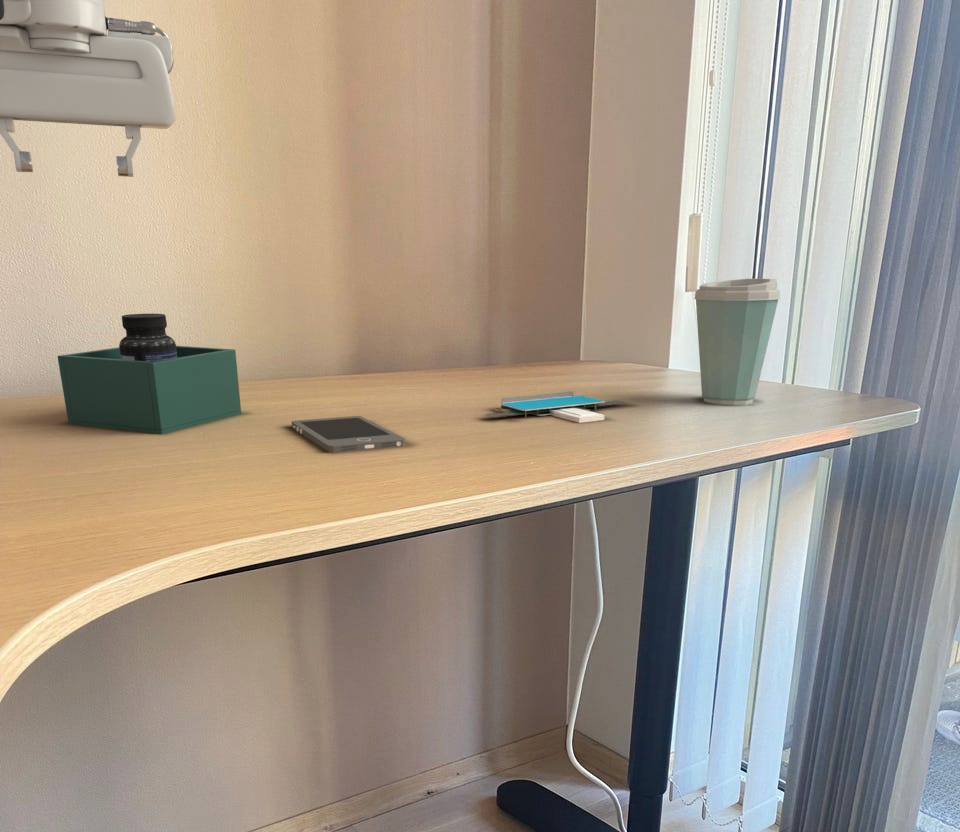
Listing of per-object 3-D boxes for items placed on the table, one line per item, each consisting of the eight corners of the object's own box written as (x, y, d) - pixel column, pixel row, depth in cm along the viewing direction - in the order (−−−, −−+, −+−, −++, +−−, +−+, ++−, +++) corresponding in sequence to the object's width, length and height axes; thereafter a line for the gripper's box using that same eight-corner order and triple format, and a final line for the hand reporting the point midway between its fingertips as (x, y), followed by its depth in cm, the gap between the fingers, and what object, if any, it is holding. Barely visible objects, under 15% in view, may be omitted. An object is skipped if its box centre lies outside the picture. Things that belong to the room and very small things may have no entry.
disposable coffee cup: (724, 412, 117) (737, 281, 111) (667, 399, 126) (676, 278, 120) (786, 405, 122) (802, 279, 116) (727, 393, 131) (739, 276, 125)
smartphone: (289, 427, 107) (288, 420, 106) (359, 421, 110) (359, 415, 110) (329, 453, 94) (328, 446, 94) (406, 446, 97) (406, 439, 97)
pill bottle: (189, 410, 114) (178, 312, 109) (177, 419, 108) (165, 317, 104) (137, 410, 113) (123, 312, 109) (122, 420, 108) (107, 317, 103)
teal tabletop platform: (519, 431, 106) (520, 416, 105) (464, 414, 115) (464, 400, 114) (657, 414, 115) (658, 400, 115) (596, 400, 125) (597, 387, 124)
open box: (68, 425, 108) (57, 355, 105) (153, 406, 119) (145, 343, 116) (162, 435, 103) (152, 362, 100) (241, 415, 114) (235, 349, 111)
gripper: (168, 29, 97) (181, 180, 102) (-58, 8, 90) (-32, 171, 96) (172, 17, 92) (186, 177, 97) (-68, -6, 85) (-40, 167, 90)
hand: (76, 174), depth 96 cm, fingers open, 8 cm apart
